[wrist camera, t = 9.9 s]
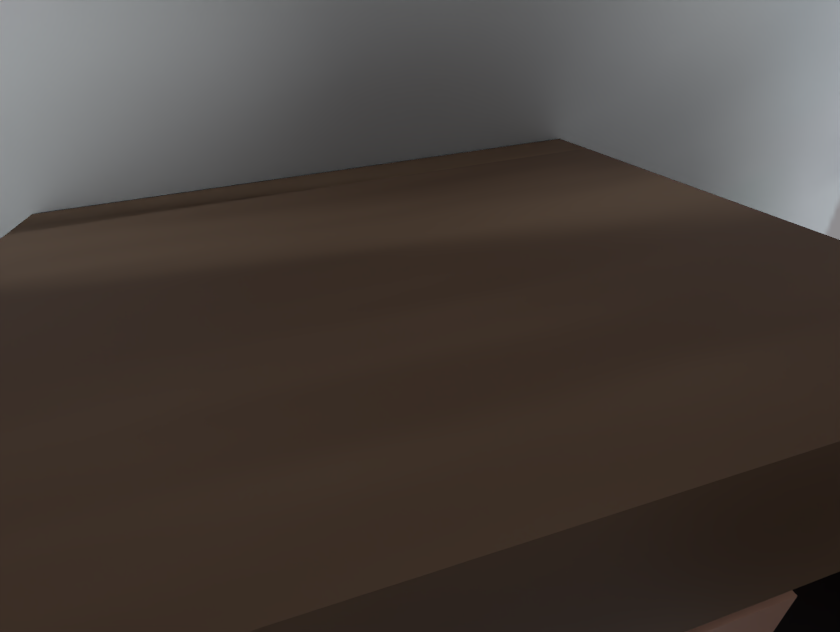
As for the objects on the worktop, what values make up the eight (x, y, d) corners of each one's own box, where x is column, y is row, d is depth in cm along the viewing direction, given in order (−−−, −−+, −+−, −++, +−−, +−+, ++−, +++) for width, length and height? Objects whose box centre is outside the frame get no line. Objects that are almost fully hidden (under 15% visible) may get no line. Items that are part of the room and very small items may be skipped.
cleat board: (534, 435, 15) (752, 763, 8) (199, 528, 13) (127, 1057, 6) (559, 138, 10) (1134, 346, 3) (32, 214, 8) (-1041, 1046, 1)
